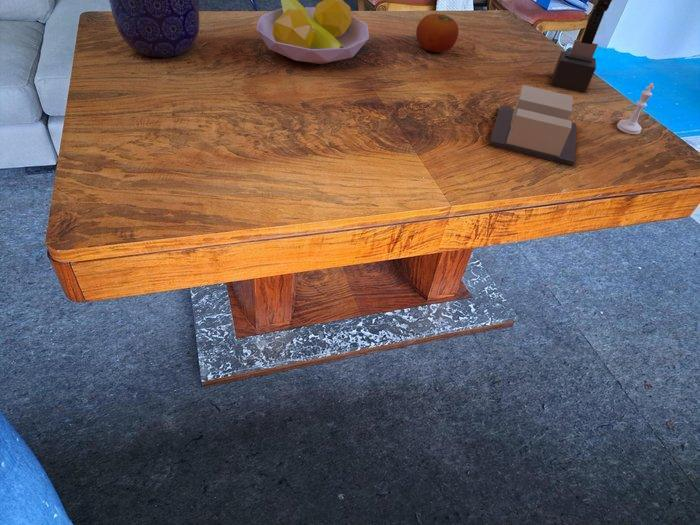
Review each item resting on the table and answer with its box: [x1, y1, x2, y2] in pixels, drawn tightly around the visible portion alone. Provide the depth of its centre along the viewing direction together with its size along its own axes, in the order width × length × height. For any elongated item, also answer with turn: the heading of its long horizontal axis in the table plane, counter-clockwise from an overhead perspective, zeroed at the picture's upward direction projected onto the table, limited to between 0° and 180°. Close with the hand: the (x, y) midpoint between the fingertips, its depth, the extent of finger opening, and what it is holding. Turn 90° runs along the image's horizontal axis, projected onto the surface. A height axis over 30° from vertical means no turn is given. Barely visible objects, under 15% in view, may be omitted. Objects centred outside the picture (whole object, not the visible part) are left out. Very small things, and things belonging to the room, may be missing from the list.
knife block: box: [550, 50, 597, 94], centre depth 120 cm, size 8×6×6 cm
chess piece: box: [616, 82, 655, 135], centre depth 105 cm, size 5×5×10 cm
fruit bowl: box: [255, 0, 370, 65], centre depth 120 cm, size 28×27×11 cm
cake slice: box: [507, 108, 573, 156], centre depth 96 cm, size 10×3×6 cm, turn 71°
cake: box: [510, 84, 574, 127], centre depth 102 cm, size 10×7×6 cm
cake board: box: [488, 105, 577, 167], centre depth 102 cm, size 16×16×1 cm
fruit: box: [415, 13, 459, 53], centre depth 128 cm, size 11×10×8 cm
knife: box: [569, 7, 605, 63], centre depth 116 cm, size 5×2×17 cm, turn 71°
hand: (591, 25), depth 113 cm, fingers closed on knife, 2 cm apart
